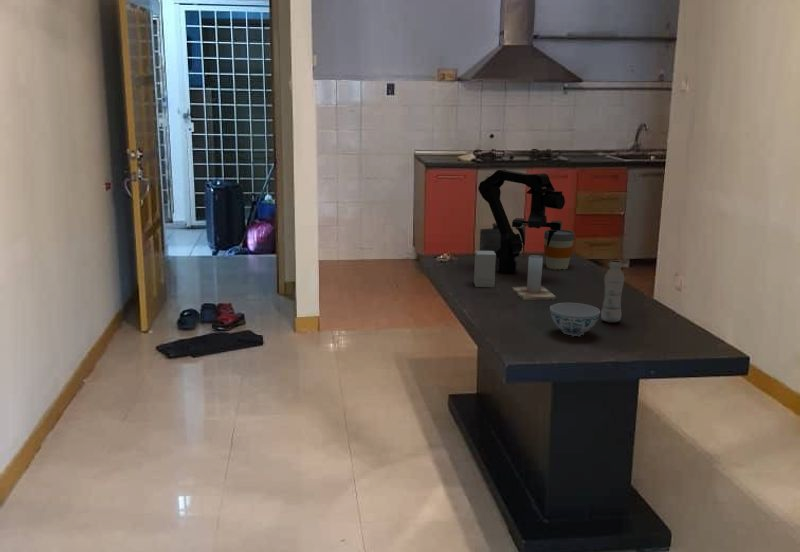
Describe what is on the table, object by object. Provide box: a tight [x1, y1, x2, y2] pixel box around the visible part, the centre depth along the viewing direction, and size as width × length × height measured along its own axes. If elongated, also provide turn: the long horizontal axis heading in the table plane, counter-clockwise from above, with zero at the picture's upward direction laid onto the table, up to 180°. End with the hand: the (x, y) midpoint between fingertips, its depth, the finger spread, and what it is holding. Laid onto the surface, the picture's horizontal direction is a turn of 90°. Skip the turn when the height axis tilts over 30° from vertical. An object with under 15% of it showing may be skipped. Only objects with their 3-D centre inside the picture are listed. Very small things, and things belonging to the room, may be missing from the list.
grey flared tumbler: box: [526, 254, 544, 293], centre depth 284 cm, size 5×5×13 cm
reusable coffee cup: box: [543, 229, 575, 271], centre depth 327 cm, size 13×13×15 cm
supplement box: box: [473, 250, 496, 288], centre depth 297 cm, size 7×7×13 cm
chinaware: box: [549, 302, 601, 337], centre depth 241 cm, size 15×15×8 cm
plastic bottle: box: [600, 259, 626, 323], centre depth 252 cm, size 6×7×20 cm
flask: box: [478, 222, 514, 267], centre depth 327 cm, size 4×14×18 cm, turn 106°
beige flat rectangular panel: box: [511, 285, 557, 301], centre depth 286 cm, size 15×12×1 cm
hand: (535, 245), depth 307 cm, fingers open, 9 cm apart
